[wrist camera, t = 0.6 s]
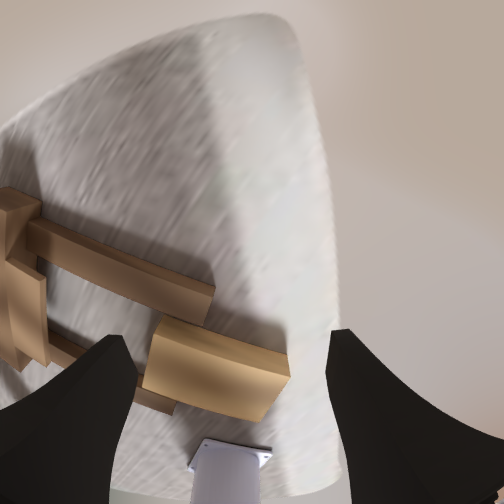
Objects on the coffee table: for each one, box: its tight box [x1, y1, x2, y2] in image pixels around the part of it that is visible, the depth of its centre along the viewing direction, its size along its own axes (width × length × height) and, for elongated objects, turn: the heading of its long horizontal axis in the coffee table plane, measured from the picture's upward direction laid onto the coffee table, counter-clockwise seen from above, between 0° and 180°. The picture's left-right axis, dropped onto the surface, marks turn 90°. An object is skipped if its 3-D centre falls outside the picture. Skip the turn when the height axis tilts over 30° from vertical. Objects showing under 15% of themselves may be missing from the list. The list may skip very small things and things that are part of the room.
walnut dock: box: [0, 187, 216, 416], centre depth 18 cm, size 16×20×4 cm
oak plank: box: [142, 314, 291, 423], centre depth 20 cm, size 6×10×3 cm, turn 69°
